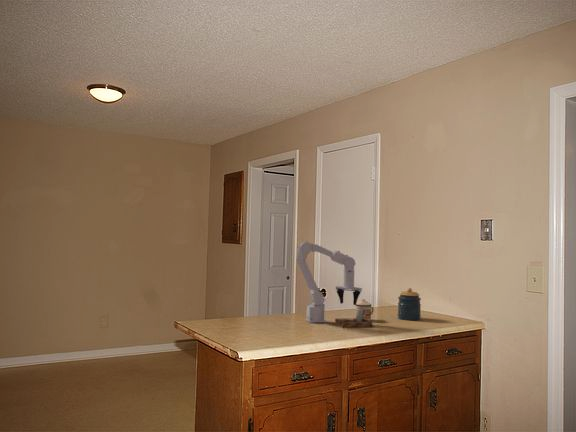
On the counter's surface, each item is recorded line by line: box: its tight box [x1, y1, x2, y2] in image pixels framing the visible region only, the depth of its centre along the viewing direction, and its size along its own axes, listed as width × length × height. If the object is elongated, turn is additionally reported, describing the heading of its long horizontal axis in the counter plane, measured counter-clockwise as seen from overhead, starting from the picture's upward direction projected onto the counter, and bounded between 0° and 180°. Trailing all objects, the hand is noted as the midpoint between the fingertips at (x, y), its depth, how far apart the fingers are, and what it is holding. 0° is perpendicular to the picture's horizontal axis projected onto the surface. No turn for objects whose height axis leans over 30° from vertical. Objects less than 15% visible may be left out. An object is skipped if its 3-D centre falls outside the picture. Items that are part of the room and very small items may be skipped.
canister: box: [397, 287, 422, 321], centre depth 282 cm, size 13×13×18 cm
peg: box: [356, 310, 362, 322], centre depth 259 cm, size 3×3×7 cm
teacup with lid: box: [354, 298, 375, 321], centre depth 274 cm, size 12×9×12 cm
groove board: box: [334, 317, 373, 329], centre depth 256 cm, size 16×12×2 cm
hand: (348, 304), depth 264 cm, fingers open, 7 cm apart
